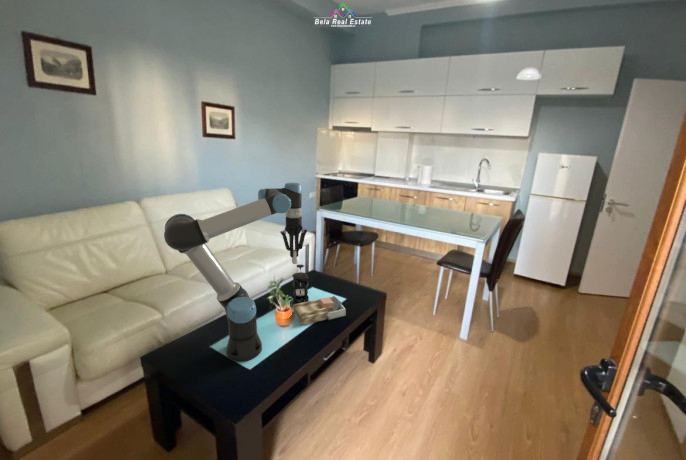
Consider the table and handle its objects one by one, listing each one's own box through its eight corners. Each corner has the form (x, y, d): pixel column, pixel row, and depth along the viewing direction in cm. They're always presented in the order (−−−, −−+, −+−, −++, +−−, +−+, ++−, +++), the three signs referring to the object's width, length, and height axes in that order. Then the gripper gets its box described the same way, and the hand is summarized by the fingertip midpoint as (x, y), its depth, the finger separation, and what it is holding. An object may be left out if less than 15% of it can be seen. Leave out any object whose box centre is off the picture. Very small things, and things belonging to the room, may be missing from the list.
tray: (328, 319, 167) (328, 313, 166) (317, 305, 181) (317, 299, 180) (345, 315, 172) (346, 309, 170) (333, 302, 185) (333, 296, 184)
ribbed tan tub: (302, 325, 162) (302, 315, 160) (293, 312, 174) (293, 303, 172) (327, 319, 168) (327, 309, 166) (317, 306, 180) (317, 297, 178)
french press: (313, 302, 184) (313, 265, 178) (300, 308, 177) (300, 270, 171) (299, 295, 192) (298, 260, 185) (287, 301, 185) (286, 264, 178)
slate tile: (338, 300, 173) (342, 302, 175) (333, 295, 178) (337, 298, 180) (331, 309, 173) (335, 311, 174) (327, 304, 178) (330, 306, 179)
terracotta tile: (322, 308, 170) (323, 303, 169) (318, 303, 175) (319, 298, 174) (333, 307, 173) (333, 302, 172) (328, 302, 178) (329, 297, 177)
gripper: (282, 219, 144) (283, 267, 150) (309, 216, 149) (309, 263, 156) (277, 215, 150) (279, 262, 156) (304, 213, 156) (304, 258, 162)
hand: (294, 263), depth 156 cm, fingers closed
